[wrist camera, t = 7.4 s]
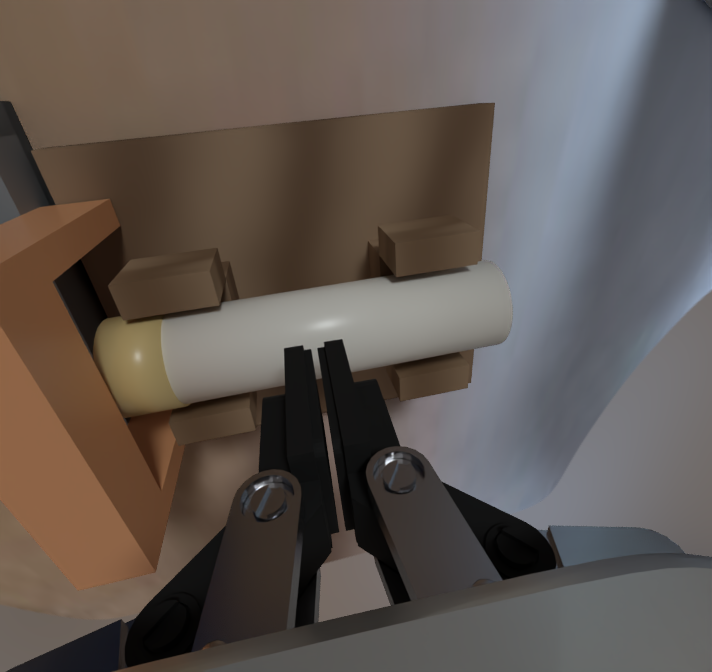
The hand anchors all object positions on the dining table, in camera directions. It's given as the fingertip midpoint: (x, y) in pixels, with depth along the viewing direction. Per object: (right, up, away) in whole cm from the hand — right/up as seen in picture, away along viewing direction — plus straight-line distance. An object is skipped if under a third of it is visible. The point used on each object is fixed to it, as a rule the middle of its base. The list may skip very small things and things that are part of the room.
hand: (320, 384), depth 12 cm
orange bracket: (-9, +2, +6) cm, 11 cm away
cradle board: (-1, +4, +8) cm, 9 cm away
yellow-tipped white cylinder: (-1, +2, +5) cm, 5 cm away
